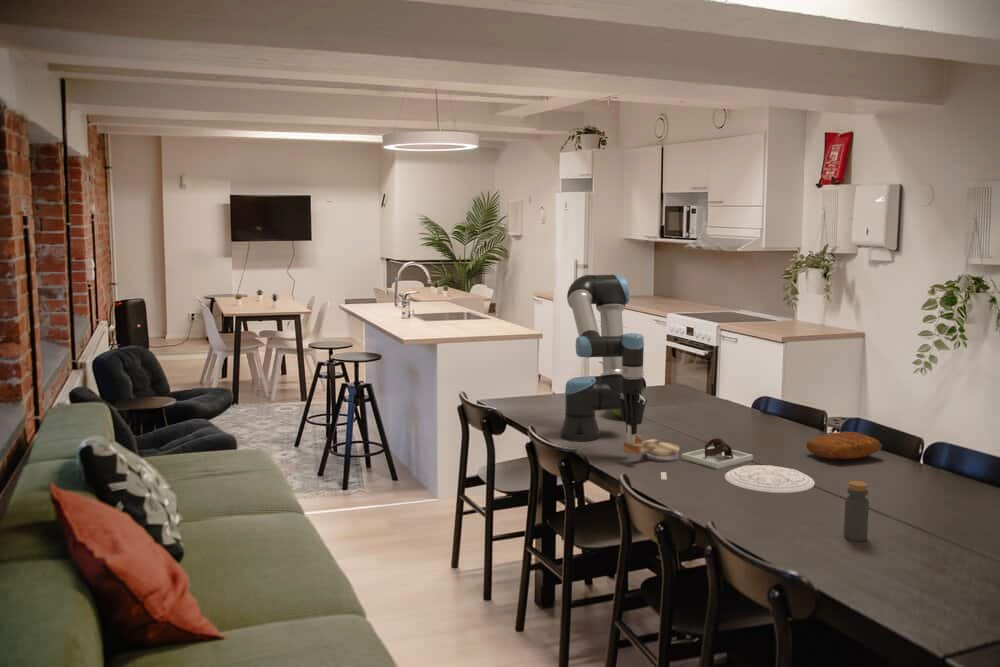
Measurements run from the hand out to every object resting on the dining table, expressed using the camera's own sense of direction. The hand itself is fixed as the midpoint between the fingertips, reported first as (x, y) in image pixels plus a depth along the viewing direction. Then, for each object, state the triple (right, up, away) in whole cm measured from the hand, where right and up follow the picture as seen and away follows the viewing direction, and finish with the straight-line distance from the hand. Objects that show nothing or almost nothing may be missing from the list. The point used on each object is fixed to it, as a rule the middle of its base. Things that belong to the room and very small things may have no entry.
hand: (631, 442), depth 318 cm
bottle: (+48, -16, -79) cm, 94 cm away
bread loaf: (+75, -6, -1) cm, 76 cm away
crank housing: (+11, -5, +1) cm, 12 cm away
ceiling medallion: (+41, -10, -27) cm, 50 cm away
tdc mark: (+7, -8, -23) cm, 25 cm away
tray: (+30, -6, -3) cm, 31 cm away
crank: (+7, -3, -2) cm, 8 cm away
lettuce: (+7, +3, +66) cm, 67 cm away
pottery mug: (+31, -5, -2) cm, 31 cm away
